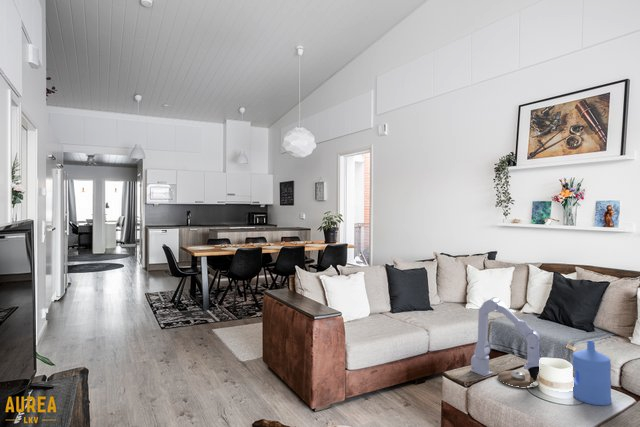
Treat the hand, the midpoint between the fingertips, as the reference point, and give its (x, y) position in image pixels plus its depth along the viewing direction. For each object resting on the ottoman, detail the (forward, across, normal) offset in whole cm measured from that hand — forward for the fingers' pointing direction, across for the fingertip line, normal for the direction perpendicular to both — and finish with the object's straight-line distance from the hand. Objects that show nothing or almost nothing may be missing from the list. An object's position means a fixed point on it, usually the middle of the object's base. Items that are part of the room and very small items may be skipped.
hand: (533, 380), depth 215 cm
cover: (+1, -2, +7) cm, 8 cm away
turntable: (+3, -2, +8) cm, 8 cm away
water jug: (+3, +8, -24) cm, 26 cm away
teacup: (+3, +19, -7) cm, 20 cm away
